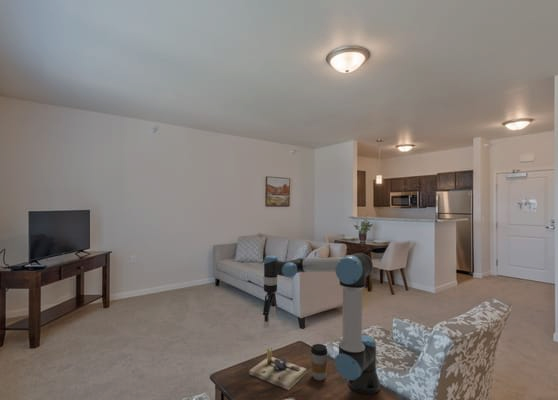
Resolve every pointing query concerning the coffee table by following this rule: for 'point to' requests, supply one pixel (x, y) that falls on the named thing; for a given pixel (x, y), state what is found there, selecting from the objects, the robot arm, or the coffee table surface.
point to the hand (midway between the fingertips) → (269, 322)
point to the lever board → (278, 374)
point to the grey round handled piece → (276, 361)
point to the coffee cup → (319, 361)
